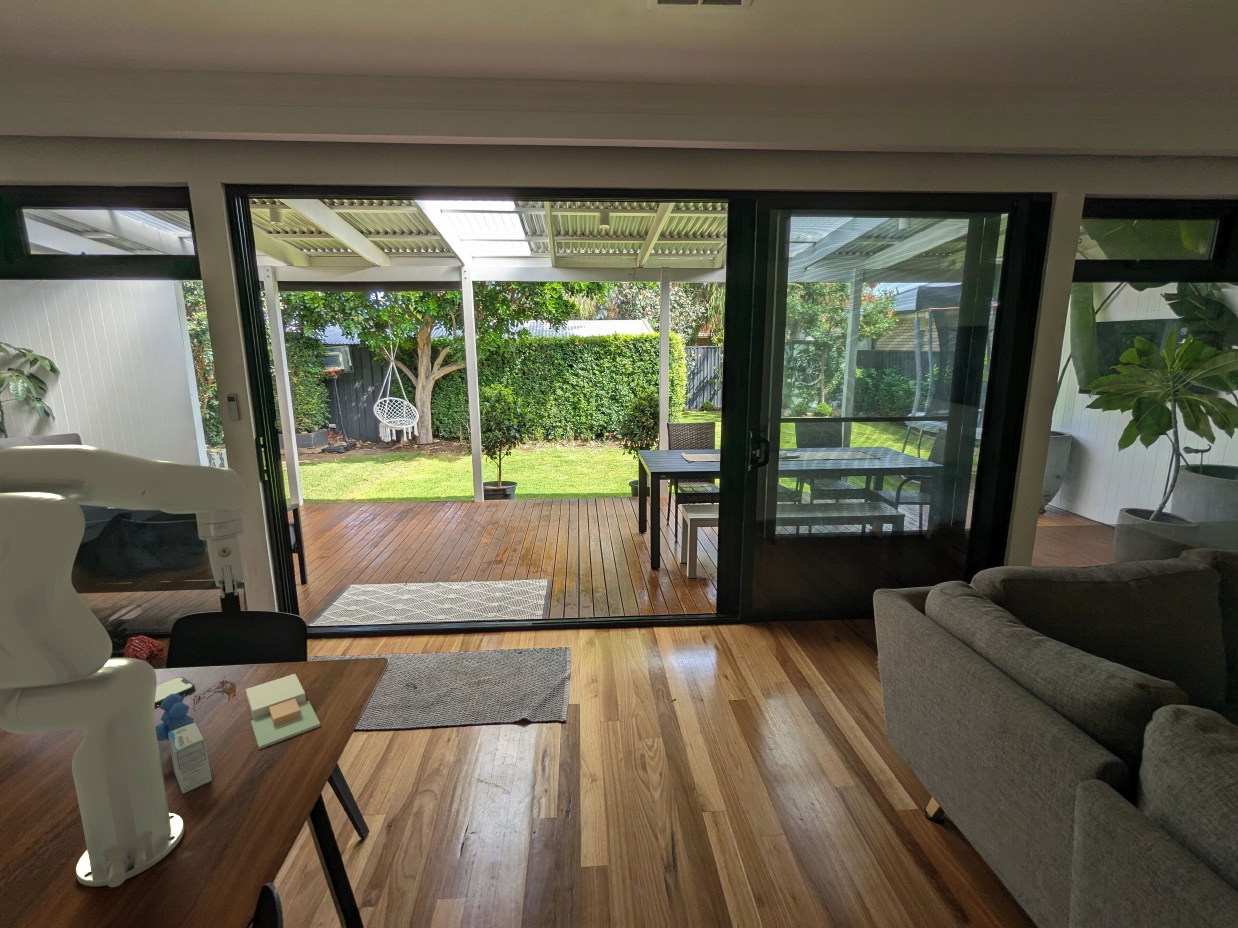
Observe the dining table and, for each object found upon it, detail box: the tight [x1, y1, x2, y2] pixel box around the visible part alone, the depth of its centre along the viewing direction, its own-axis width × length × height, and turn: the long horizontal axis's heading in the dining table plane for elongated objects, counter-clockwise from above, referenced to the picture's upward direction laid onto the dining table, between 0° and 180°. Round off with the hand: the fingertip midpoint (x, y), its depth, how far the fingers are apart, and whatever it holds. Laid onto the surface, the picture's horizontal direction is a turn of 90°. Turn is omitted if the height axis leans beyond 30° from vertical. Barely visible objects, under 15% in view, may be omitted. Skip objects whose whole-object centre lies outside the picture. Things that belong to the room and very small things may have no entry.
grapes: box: [155, 694, 195, 742], centre depth 106 cm, size 12×7×12 cm, turn 54°
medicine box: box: [168, 721, 213, 794], centre depth 100 cm, size 8×4×9 cm, turn 47°
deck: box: [245, 673, 307, 720], centre depth 124 cm, size 11×10×2 cm
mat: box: [250, 700, 321, 750], centre depth 115 cm, size 11×11×1 cm
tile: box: [269, 698, 301, 726], centre depth 118 cm, size 6×5×2 cm
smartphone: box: [155, 676, 196, 708], centre depth 125 cm, size 9×2×16 cm
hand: (231, 612), depth 114 cm, fingers closed
